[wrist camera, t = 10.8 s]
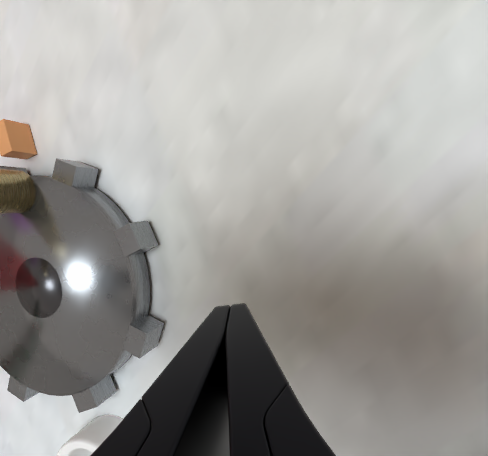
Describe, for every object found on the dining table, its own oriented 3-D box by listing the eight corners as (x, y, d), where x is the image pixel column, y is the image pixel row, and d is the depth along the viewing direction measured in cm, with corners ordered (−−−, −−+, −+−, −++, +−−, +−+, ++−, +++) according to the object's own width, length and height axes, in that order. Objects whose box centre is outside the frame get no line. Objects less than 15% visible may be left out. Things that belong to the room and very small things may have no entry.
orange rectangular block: (37, 154, 26) (11, 150, 24) (26, 159, 27) (1, 156, 25) (29, 124, 26) (3, 119, 24) (18, 130, 27) (-8, 124, 25)
